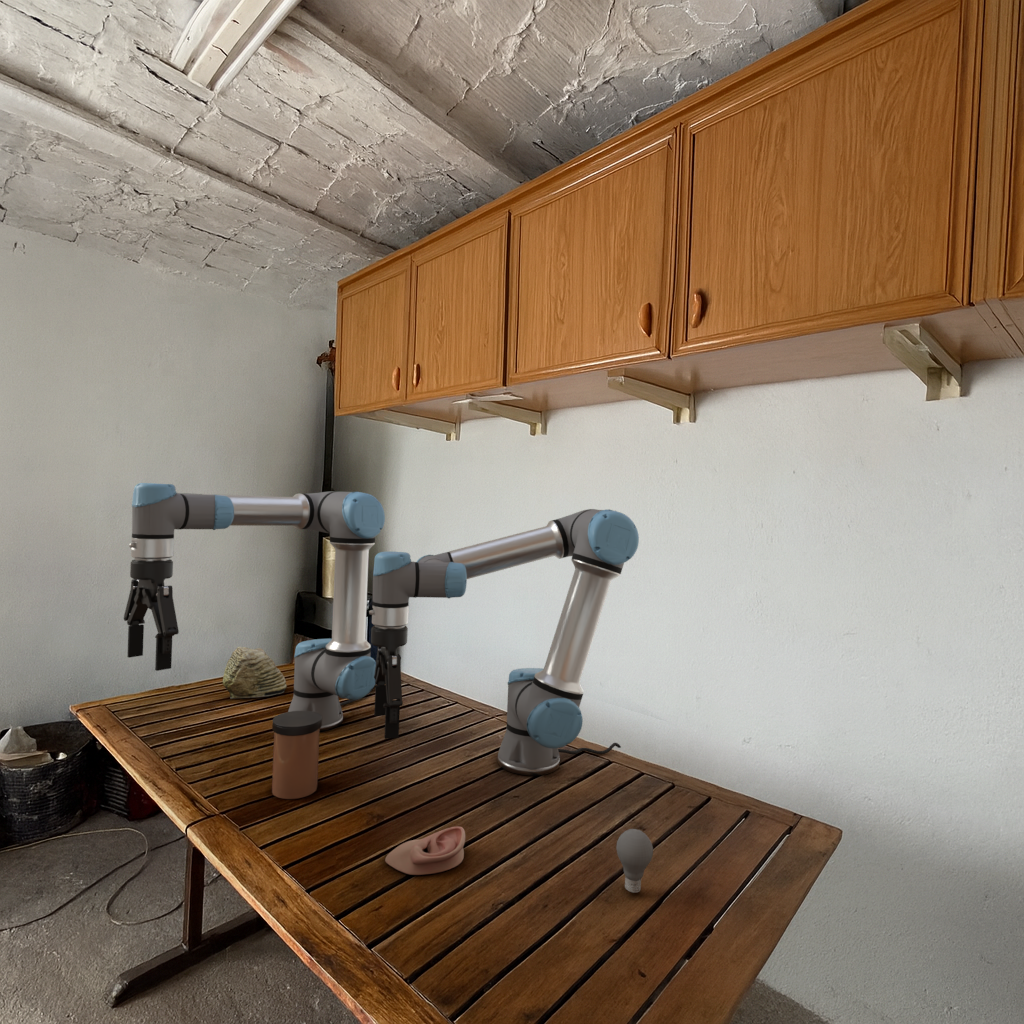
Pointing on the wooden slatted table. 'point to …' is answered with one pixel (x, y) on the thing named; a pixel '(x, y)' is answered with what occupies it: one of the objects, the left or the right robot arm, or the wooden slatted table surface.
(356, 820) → the wooden slatted table surface
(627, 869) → the light bulb
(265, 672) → the fossil
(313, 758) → the jar
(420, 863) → the anatomical model
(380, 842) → the wooden slatted table surface
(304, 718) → the lid
